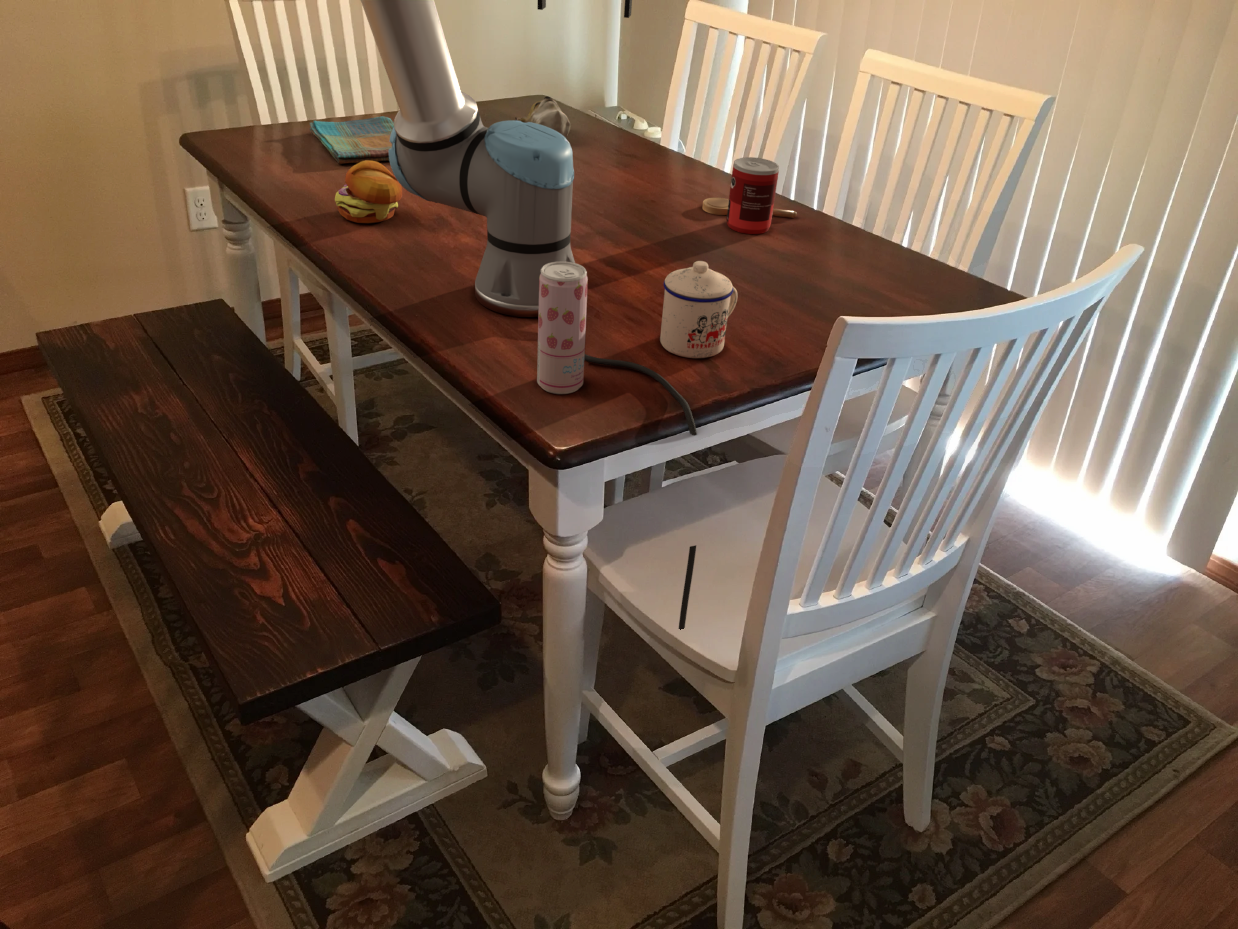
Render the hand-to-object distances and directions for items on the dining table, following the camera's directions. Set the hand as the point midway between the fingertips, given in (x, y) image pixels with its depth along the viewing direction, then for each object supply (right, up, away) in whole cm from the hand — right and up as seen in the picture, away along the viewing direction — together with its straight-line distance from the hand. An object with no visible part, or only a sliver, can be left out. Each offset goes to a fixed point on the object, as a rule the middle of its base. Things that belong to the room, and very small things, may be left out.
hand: (584, 12), depth 155 cm
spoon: (+29, -25, +25) cm, 46 cm away
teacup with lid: (+16, -54, -20) cm, 60 cm away
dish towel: (-45, -7, +44) cm, 64 cm away
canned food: (+28, -29, +19) cm, 45 cm away
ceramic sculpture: (-10, -1, +57) cm, 58 cm away
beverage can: (-2, -61, -32) cm, 69 cm away
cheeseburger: (-36, -29, +12) cm, 48 cm away
